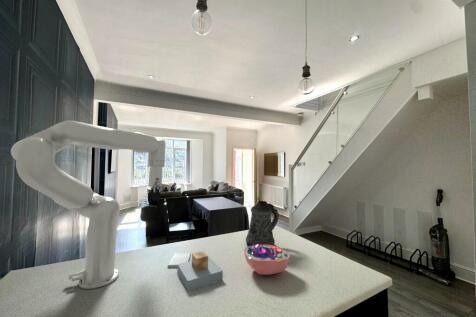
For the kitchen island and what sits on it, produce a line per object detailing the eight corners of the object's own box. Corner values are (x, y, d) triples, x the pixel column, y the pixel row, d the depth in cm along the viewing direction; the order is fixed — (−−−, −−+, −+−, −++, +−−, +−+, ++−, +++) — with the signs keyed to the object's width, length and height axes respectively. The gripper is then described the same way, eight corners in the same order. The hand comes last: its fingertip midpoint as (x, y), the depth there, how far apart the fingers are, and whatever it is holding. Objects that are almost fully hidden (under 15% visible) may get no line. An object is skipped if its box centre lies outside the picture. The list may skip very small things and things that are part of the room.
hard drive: (186, 264, 85) (190, 252, 98) (167, 265, 85) (174, 252, 97) (186, 268, 85) (190, 255, 98) (167, 269, 85) (174, 256, 97)
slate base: (187, 292, 69) (187, 281, 69) (177, 273, 81) (177, 264, 81) (222, 281, 76) (222, 270, 77) (208, 265, 88) (208, 256, 88)
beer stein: (240, 246, 110) (240, 201, 111) (257, 236, 125) (258, 197, 126) (265, 254, 100) (266, 205, 101) (281, 243, 115) (282, 200, 116)
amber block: (195, 271, 75) (196, 258, 75) (191, 266, 79) (192, 253, 80) (207, 268, 78) (208, 255, 78) (203, 263, 82) (203, 251, 82)
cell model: (291, 286, 73) (291, 255, 73) (239, 279, 77) (240, 250, 77) (289, 265, 89) (289, 240, 90) (246, 259, 93) (246, 236, 94)
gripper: (146, 164, 101) (144, 197, 100) (150, 163, 86) (148, 202, 86) (161, 164, 105) (160, 196, 104) (167, 164, 90) (166, 201, 89)
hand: (154, 199), depth 95 cm, fingers open, 9 cm apart
